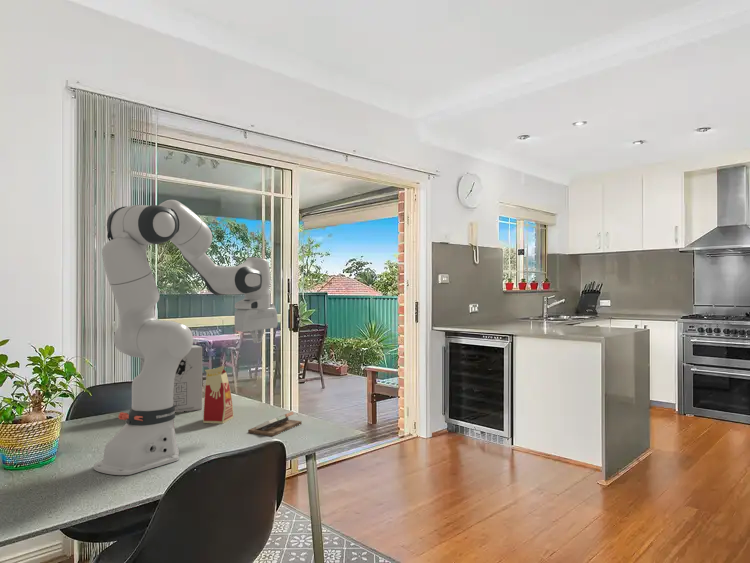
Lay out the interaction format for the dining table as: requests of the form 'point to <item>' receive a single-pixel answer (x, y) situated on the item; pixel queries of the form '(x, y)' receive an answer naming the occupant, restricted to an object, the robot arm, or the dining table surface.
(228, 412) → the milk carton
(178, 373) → the cereal box
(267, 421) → the one-dot tile
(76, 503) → the dining table surface
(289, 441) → the dining table surface
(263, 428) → the brown flat board
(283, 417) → the two-dot tile
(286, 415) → the three-dot tile
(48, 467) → the dining table surface
